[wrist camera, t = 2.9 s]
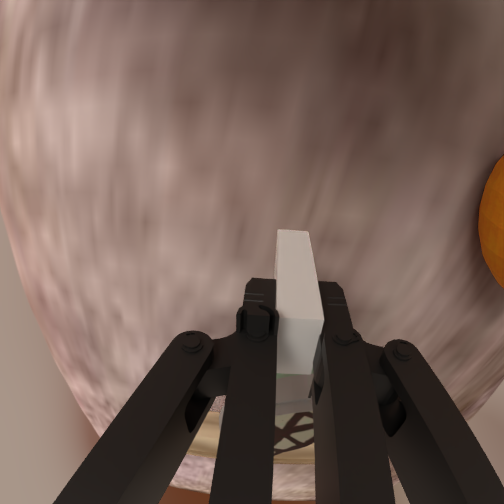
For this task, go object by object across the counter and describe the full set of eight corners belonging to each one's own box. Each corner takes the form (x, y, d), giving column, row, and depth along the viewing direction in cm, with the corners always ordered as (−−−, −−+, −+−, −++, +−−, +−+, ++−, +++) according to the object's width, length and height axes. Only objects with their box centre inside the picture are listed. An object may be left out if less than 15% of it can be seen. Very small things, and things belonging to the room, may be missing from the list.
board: (162, 403, 32) (153, 430, 29) (369, 416, 31) (373, 444, 27) (170, 427, 35) (163, 451, 32) (354, 439, 34) (357, 464, 30)
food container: (300, 255, 21) (310, 373, 13) (360, 300, 23) (390, 411, 14) (205, 349, 27) (181, 449, 18) (261, 379, 28) (253, 474, 19)
